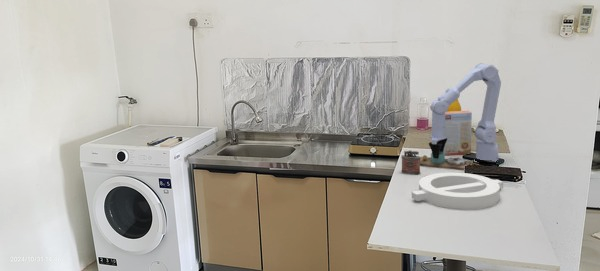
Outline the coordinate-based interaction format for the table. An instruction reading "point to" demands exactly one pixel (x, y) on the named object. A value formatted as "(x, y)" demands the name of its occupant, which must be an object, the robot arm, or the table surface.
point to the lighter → (410, 163)
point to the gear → (440, 159)
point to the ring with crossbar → (458, 190)
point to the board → (449, 163)
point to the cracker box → (458, 132)
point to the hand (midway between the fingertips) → (438, 156)
